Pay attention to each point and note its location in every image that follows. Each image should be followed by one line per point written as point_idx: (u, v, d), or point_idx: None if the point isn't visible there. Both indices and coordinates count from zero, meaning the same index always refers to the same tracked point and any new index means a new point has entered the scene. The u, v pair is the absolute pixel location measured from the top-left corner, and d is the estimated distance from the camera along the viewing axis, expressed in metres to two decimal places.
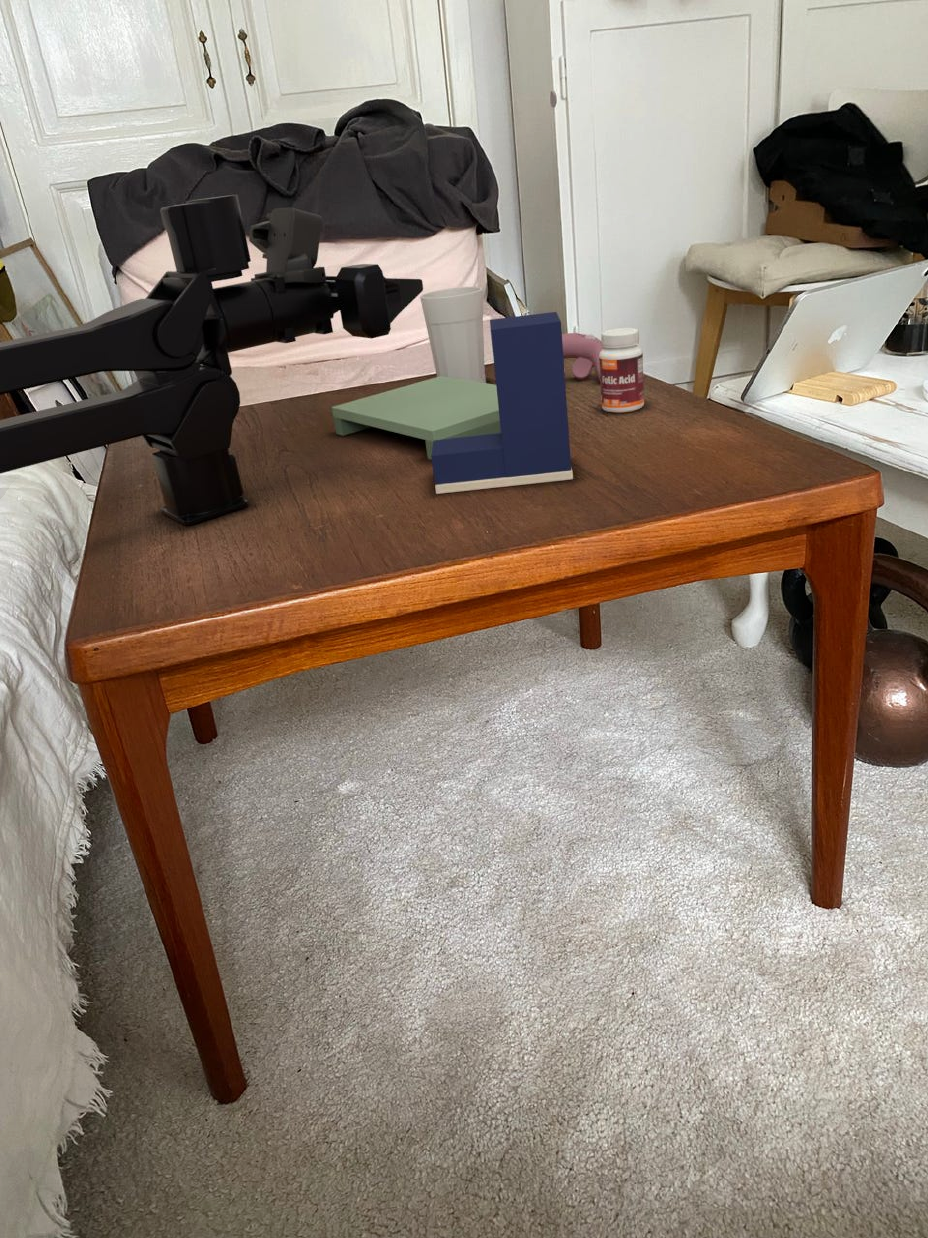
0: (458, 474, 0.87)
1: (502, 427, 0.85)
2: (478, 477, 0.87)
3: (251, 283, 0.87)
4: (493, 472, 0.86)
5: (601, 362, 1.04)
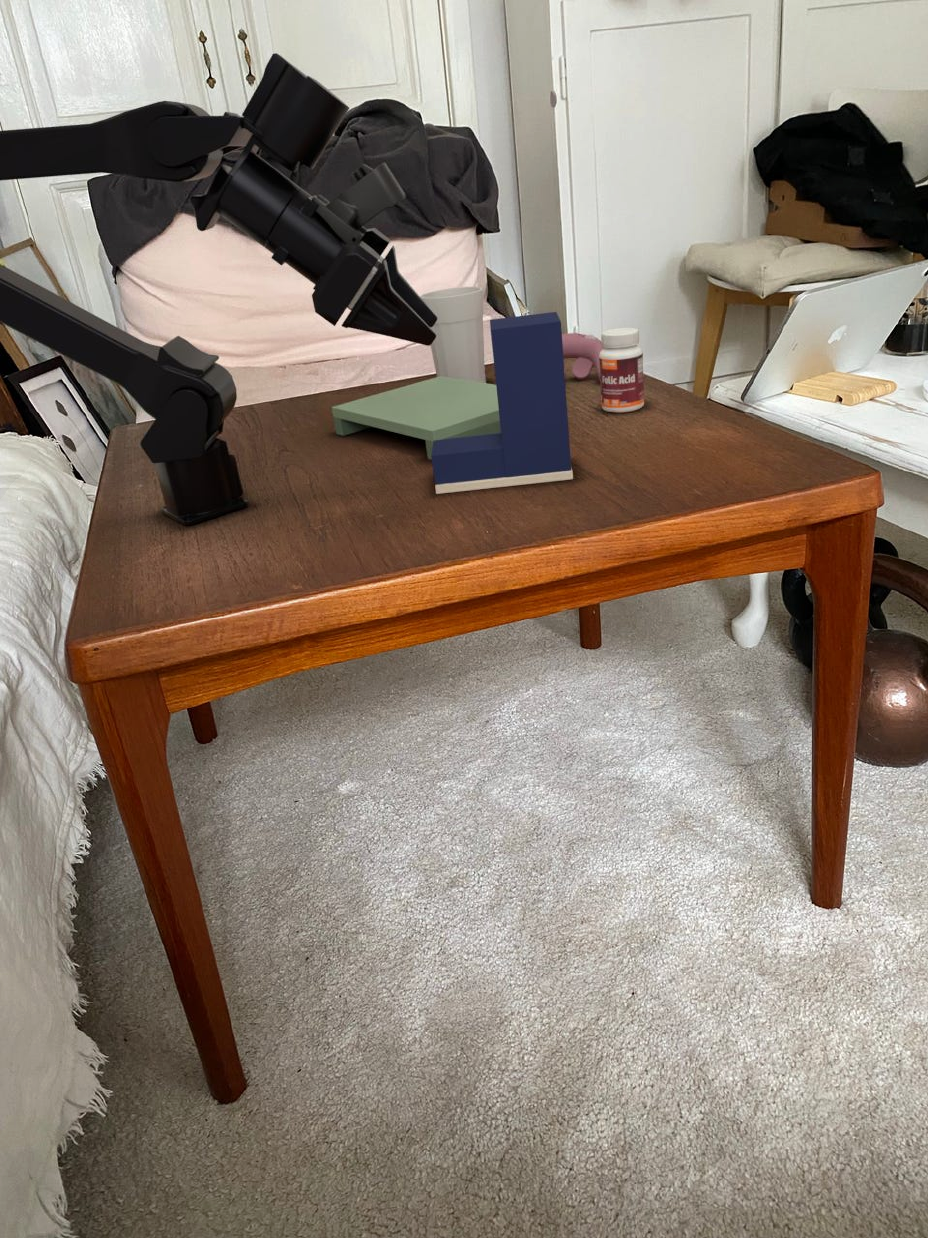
0: (458, 474, 0.87)
1: (502, 427, 0.85)
2: (478, 477, 0.87)
3: (293, 186, 0.78)
4: (493, 472, 0.86)
5: (601, 362, 1.04)
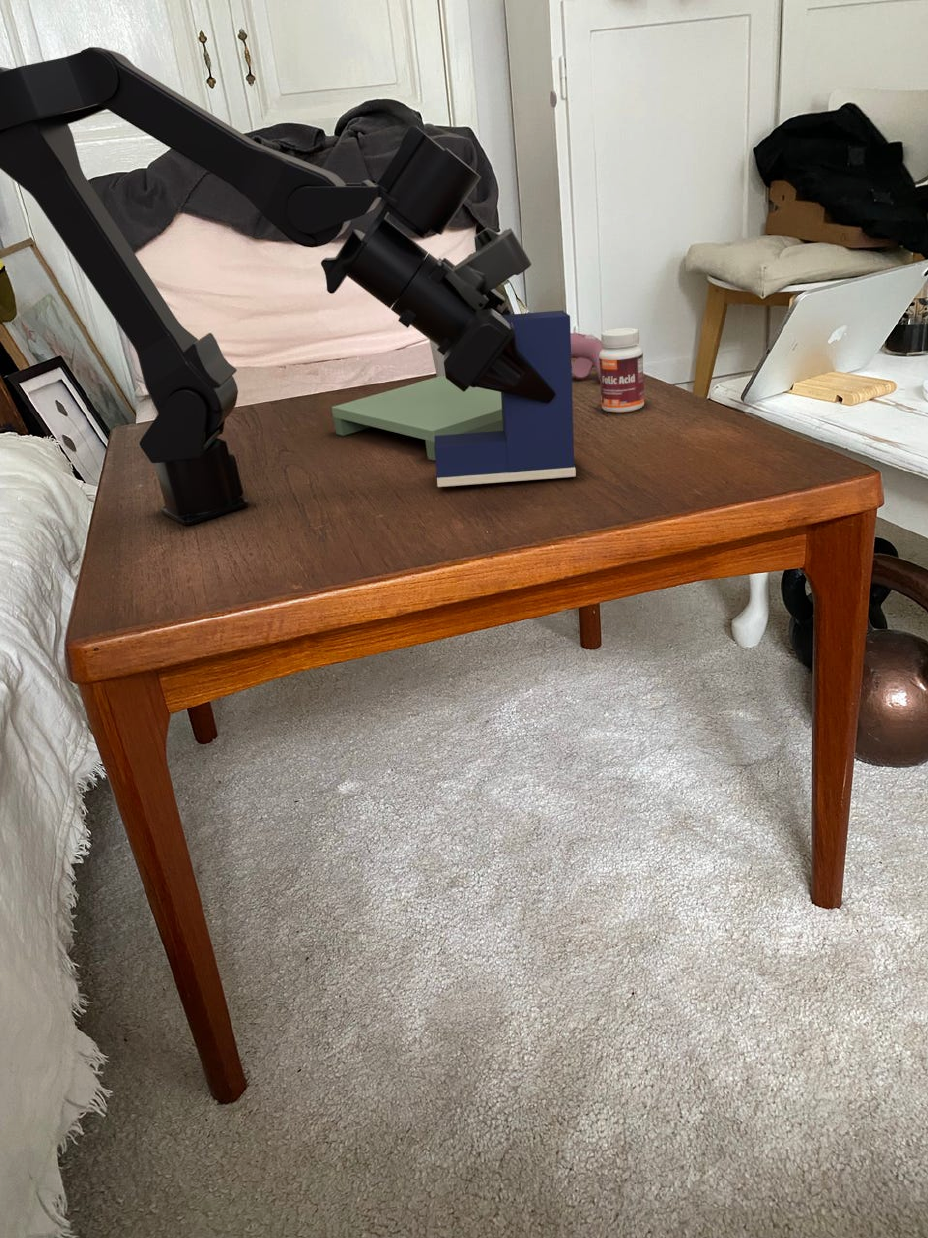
0: (461, 468, 0.86)
1: (507, 421, 0.84)
2: (480, 471, 0.86)
3: (422, 251, 0.80)
4: (496, 467, 0.86)
5: (601, 362, 1.04)
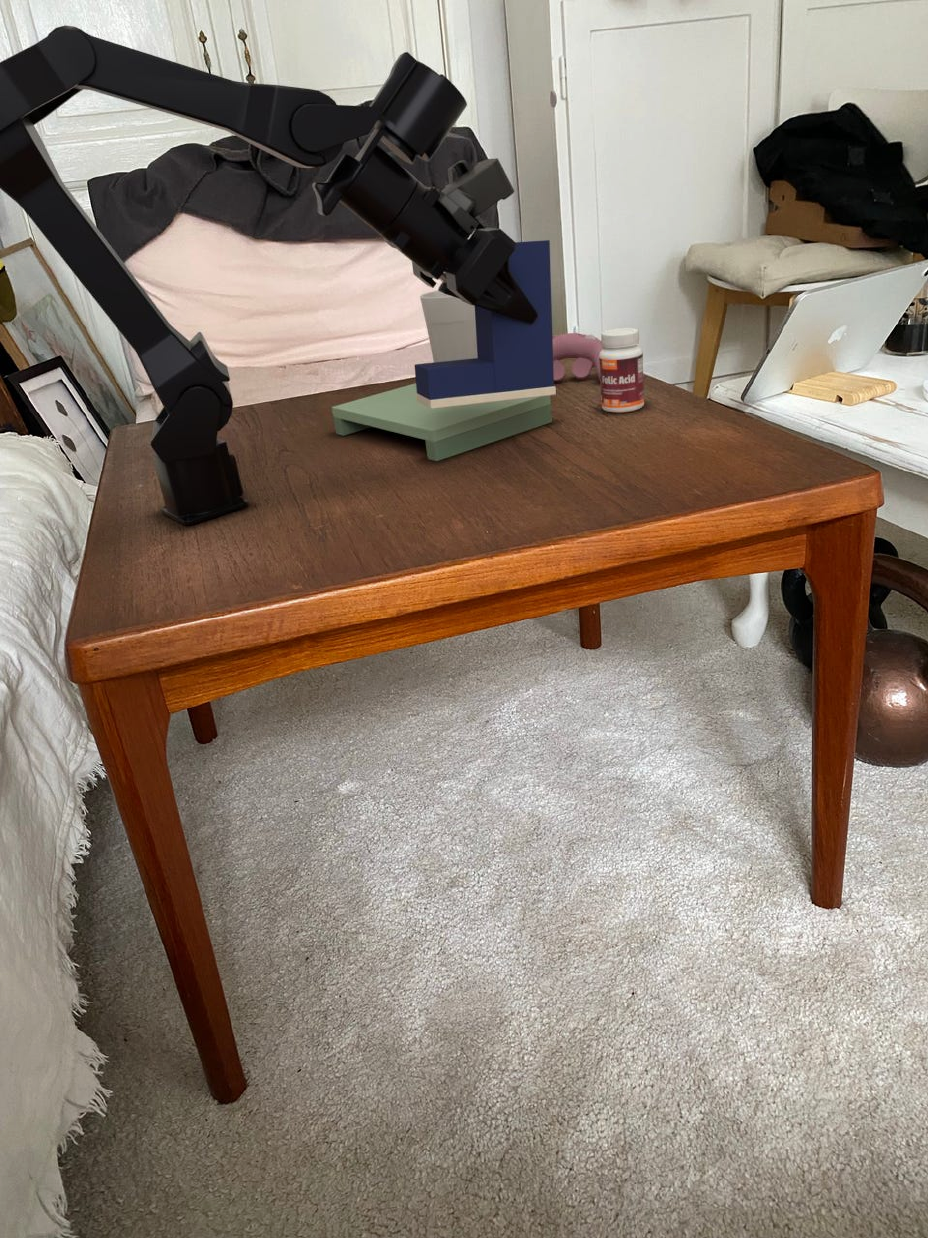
0: (452, 389, 0.89)
1: (494, 342, 0.89)
2: (470, 392, 0.90)
3: (413, 176, 0.83)
4: (484, 387, 0.90)
5: (601, 362, 1.04)
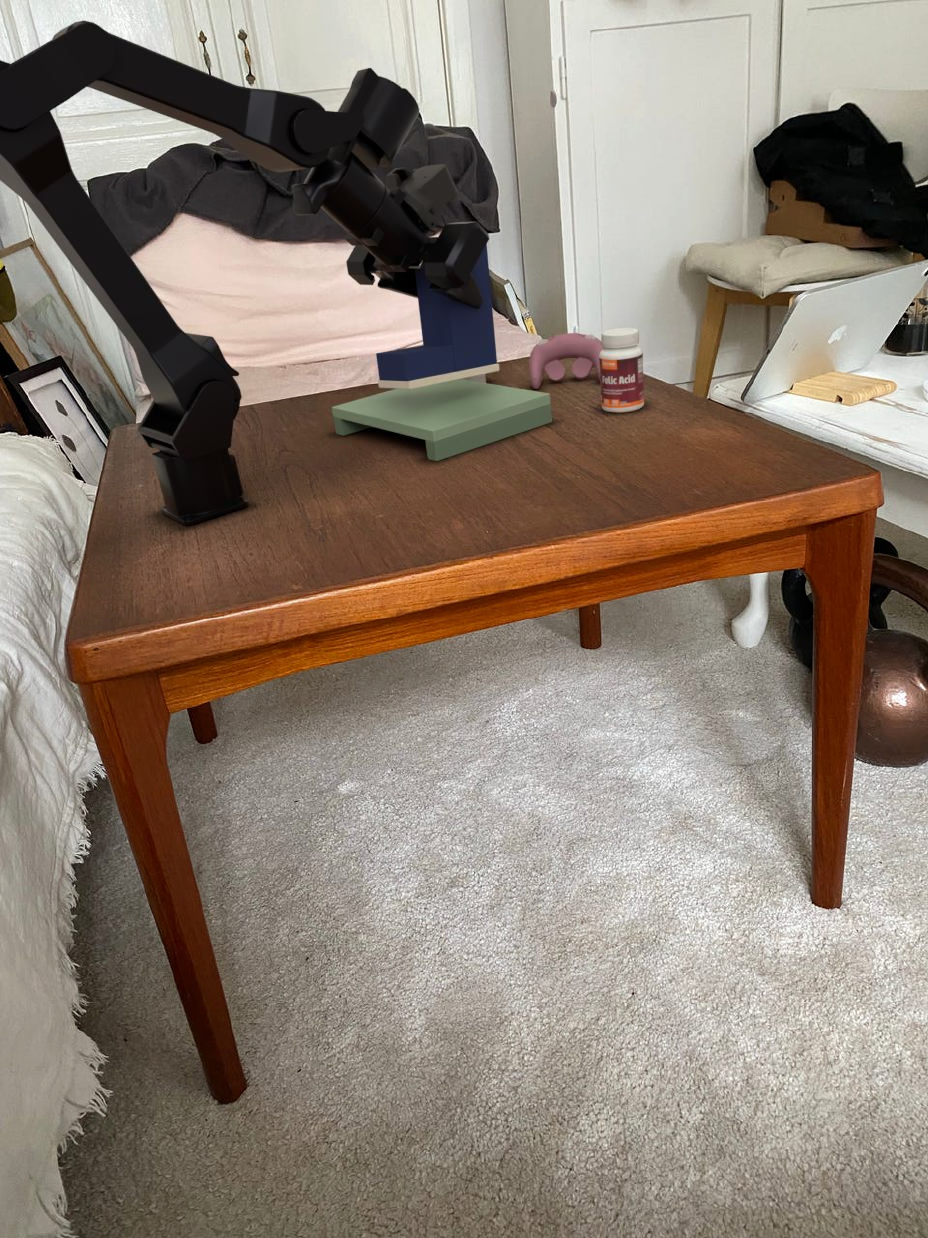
0: (423, 370, 0.99)
1: (452, 326, 1.00)
2: (437, 372, 1.00)
3: None
4: (447, 367, 1.01)
5: (601, 362, 1.04)
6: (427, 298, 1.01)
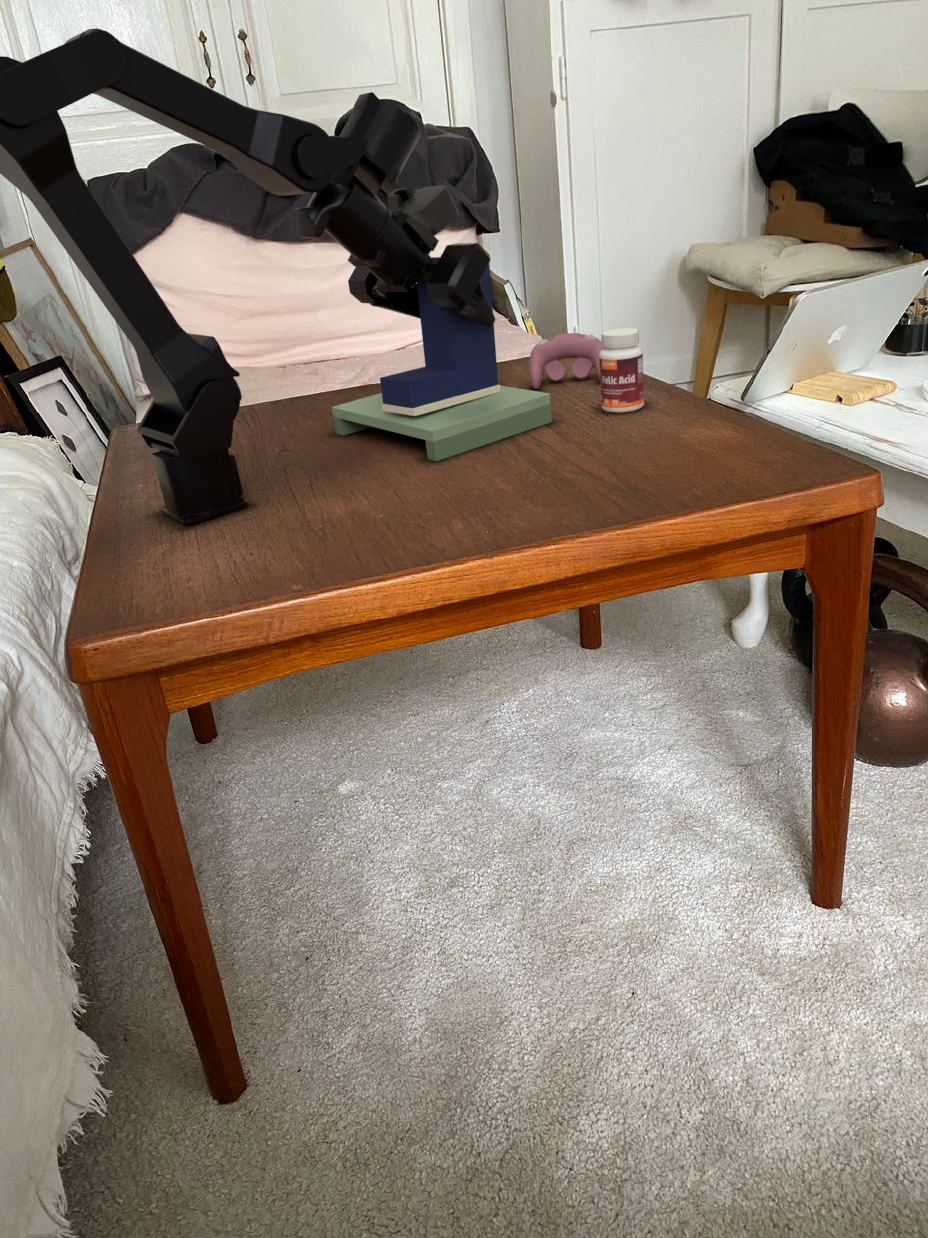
0: (427, 397, 1.00)
1: (456, 351, 1.01)
2: (441, 397, 1.01)
3: None
4: (450, 392, 1.02)
5: (601, 362, 1.04)
6: (430, 321, 1.02)
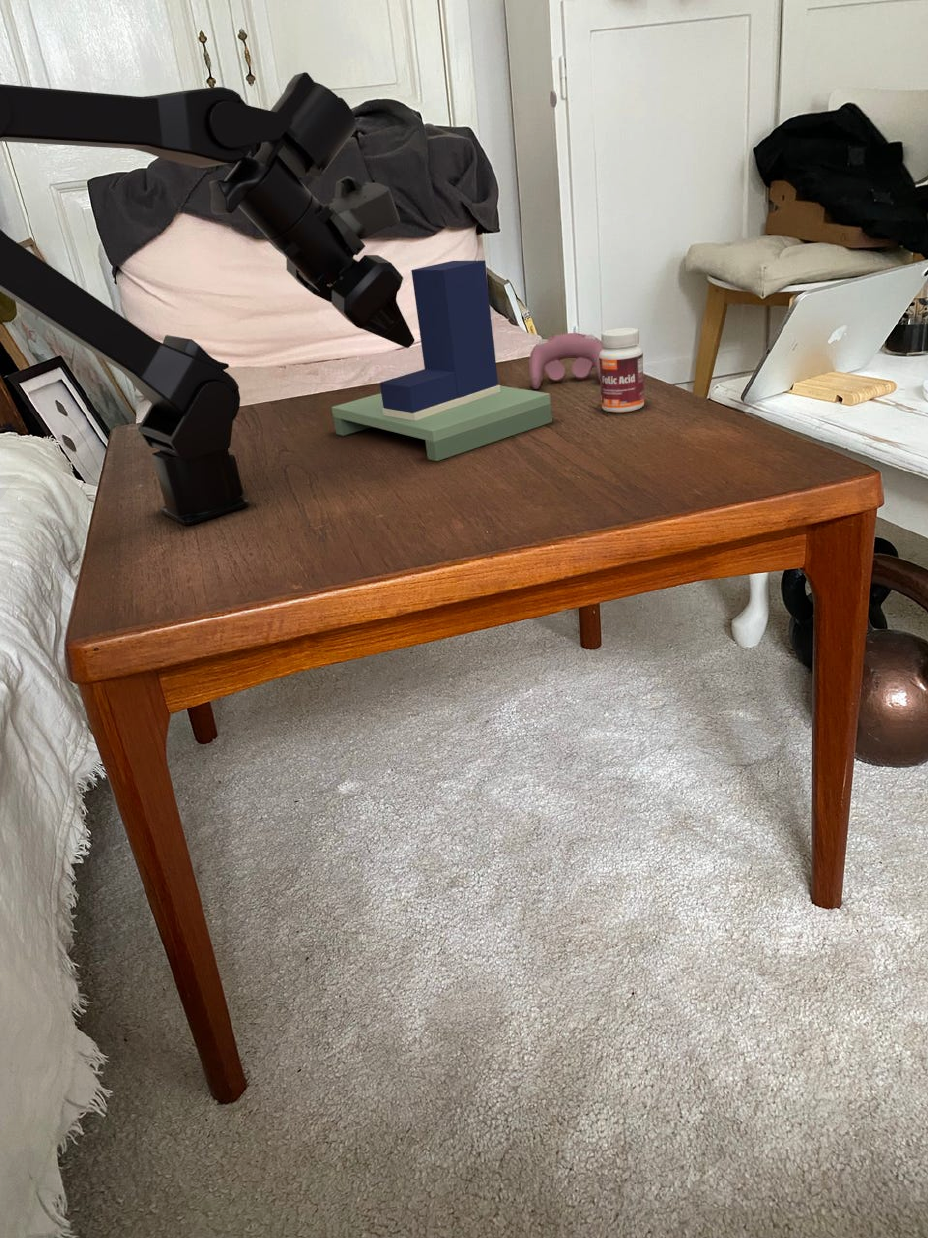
0: (427, 401, 1.00)
1: (454, 354, 1.01)
2: (441, 401, 1.01)
3: (306, 188, 0.87)
4: (450, 395, 1.02)
5: (601, 362, 1.04)
6: (428, 324, 1.02)
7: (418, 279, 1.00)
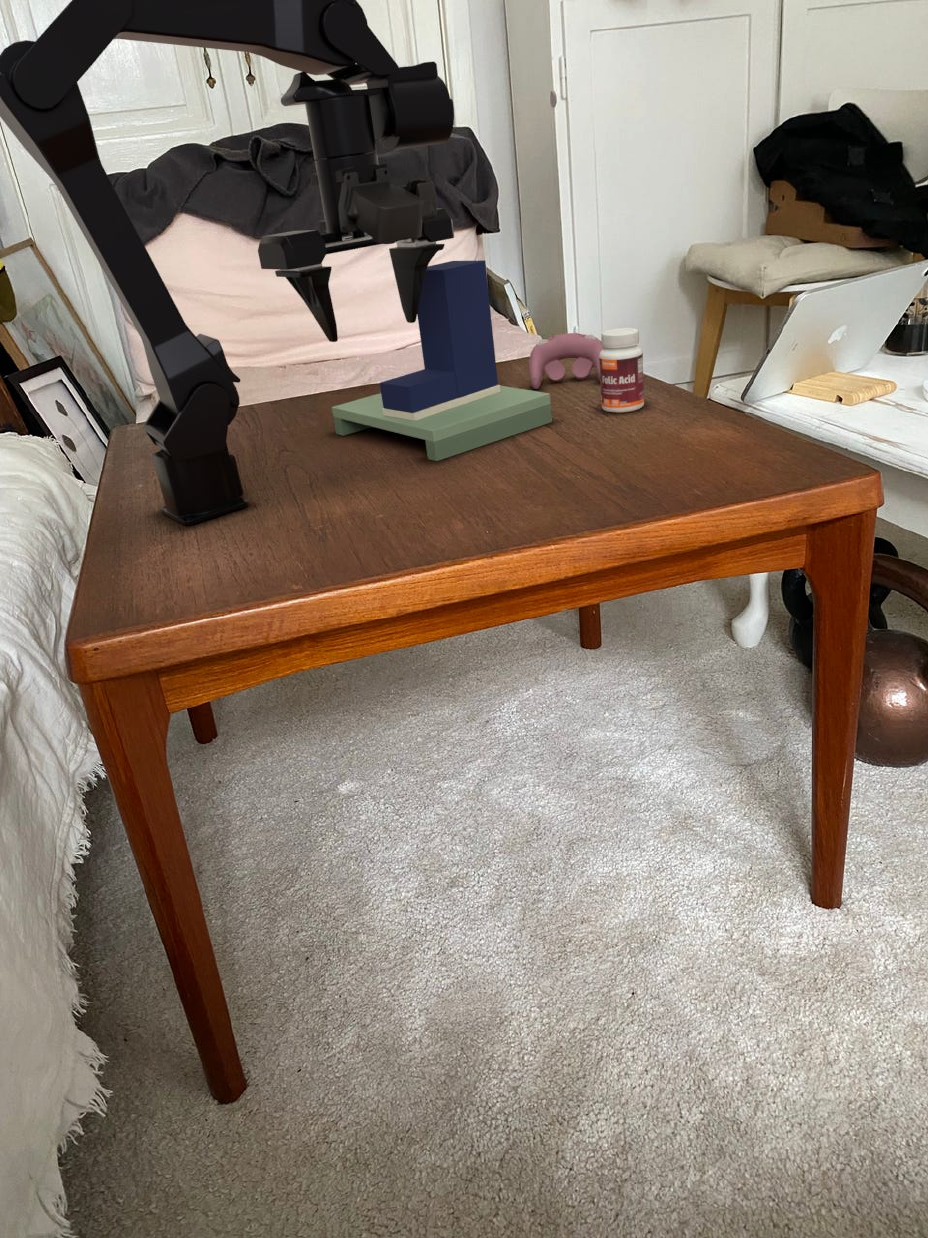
0: (427, 401, 1.00)
1: (454, 354, 1.01)
2: (441, 401, 1.01)
3: None
4: (450, 395, 1.02)
5: (601, 362, 1.04)
6: (428, 324, 1.02)
7: None
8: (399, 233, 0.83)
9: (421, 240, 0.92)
